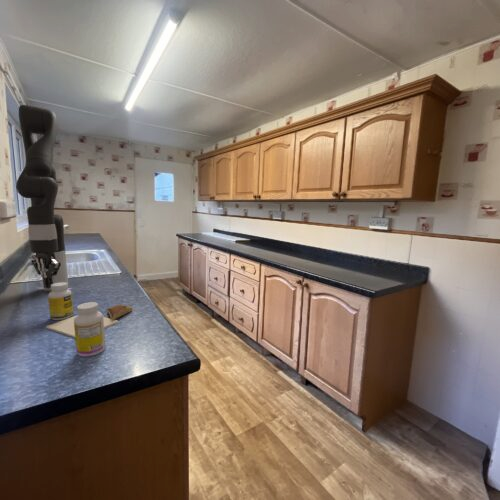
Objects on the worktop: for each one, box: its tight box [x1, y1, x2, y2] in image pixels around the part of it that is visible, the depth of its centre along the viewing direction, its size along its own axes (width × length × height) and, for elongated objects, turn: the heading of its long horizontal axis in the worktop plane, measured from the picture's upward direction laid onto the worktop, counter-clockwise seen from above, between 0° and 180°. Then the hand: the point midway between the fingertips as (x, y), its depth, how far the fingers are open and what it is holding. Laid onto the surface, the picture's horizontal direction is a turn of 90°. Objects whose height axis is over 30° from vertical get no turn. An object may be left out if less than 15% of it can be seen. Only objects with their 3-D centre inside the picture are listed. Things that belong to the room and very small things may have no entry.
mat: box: [45, 314, 119, 339], centre depth 87 cm, size 16×13×1 cm
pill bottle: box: [47, 282, 74, 321], centre depth 92 cm, size 6×6×12 cm
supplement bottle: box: [74, 301, 106, 357], centre depth 71 cm, size 7×7×13 cm
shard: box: [106, 304, 133, 320], centre depth 95 cm, size 11×8×2 cm
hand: (48, 287), depth 94 cm, fingers closed
